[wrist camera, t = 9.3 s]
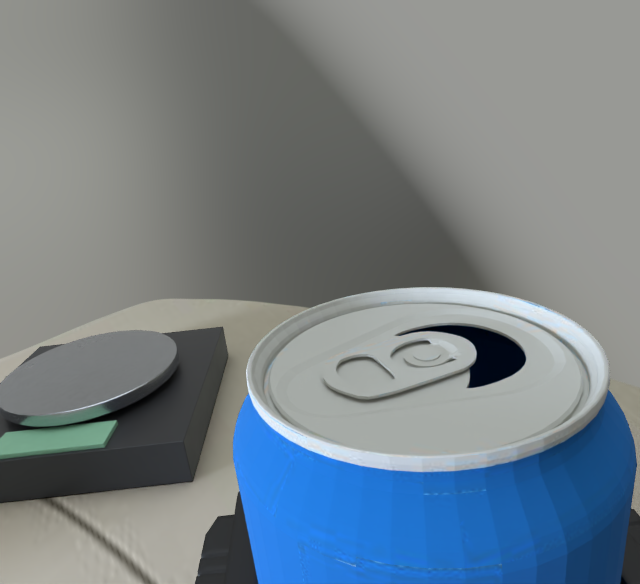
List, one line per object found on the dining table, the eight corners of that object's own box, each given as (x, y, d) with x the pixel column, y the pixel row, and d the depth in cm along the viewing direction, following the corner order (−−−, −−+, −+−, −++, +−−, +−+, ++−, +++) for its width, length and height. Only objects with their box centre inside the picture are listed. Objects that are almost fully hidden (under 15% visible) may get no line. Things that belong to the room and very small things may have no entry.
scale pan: (105, 332, 38) (102, 323, 37) (212, 350, 33) (210, 339, 32) (-39, 406, 29) (-43, 394, 29) (77, 445, 24) (73, 431, 24)
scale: (193, 481, 25) (182, 436, 24) (-79, 511, 25) (-101, 468, 24) (228, 355, 39) (222, 323, 38) (49, 375, 38) (39, 343, 37)
